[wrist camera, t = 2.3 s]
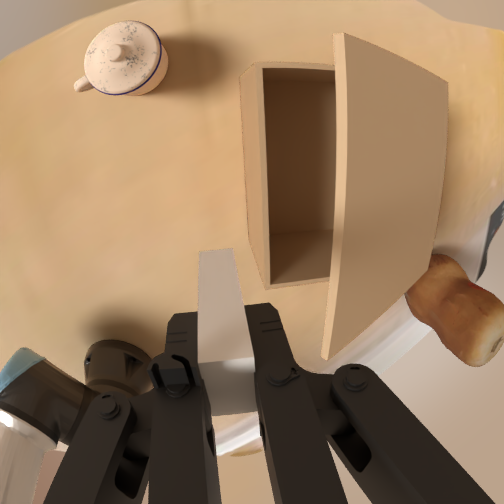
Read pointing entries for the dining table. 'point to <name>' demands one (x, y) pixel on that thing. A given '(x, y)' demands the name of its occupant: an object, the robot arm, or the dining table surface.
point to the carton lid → (382, 183)
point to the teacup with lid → (124, 60)
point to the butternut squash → (458, 311)
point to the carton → (290, 169)
